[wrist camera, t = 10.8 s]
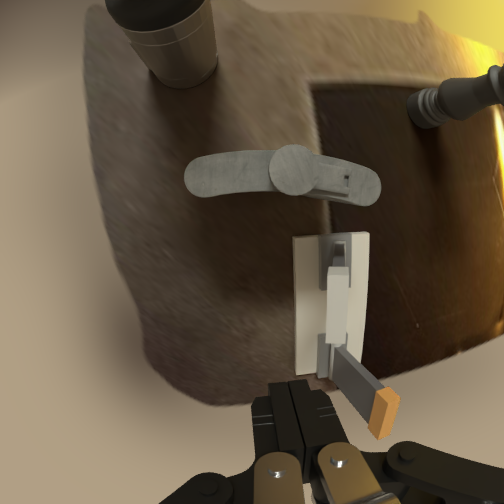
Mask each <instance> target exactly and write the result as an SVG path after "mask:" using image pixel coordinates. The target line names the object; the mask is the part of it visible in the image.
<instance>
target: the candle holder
mask: <svg viewBox="0 0 504 504" xmlns="http://www.w3.org/2000/svg"><path fill="white" fill-rule="evenodd" d="M495 104H502V105H503V106H504V64H503V66H502V67H499V66H497V65H494V66H491V67H490V68H489V70H488V74H485V75H482V76H479V77H477V78H450V79H447V80H445V81H443V82H442V83H441V85H440V86H439V88H430V89H427V88H426V89H423V90H421V91H419V92H416V93H414V94H412V95H410V97H409V98H408V100H407V110H408V114H409V116H410V118H411V120H412V121H413V122H414V123H415V124H416V125H417V126H419V127H421V128H425V129H429V128H433V127H437V126H440V125H442V124H444V123H446V122H447V121H449V120H450V118H453V119H456V120H462V121H463V120H466V119H468V118H470V117H471V116H473V115H474V114H476V113H477V112H479V111H481V110H482V109H484V108H485V107H487V106H491V105H495Z"/></svg>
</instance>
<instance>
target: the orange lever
mask: <svg viewBox="0 0 504 504" xmlns="http://www.w3.org/2000/svg"><path fill="white" fill-rule="evenodd" d="M329 379H330V380H332V381H333V382H334V383H335V384H336V385H337V387H338V388H339V389H340V390H341V391H342V393H343V394H344V395H345V396H346V398H347V399H348V400H349V401H350V403H351V404H352V405H353V406H354V407H355V409H356V410H357V411H358V412H359V414H360V415H361V416H362V417H363V418H364V420H365V421H366V422H367V423H368V429H369V430H370V432H371V433H372V434H373V435H374V436H375V438H376V439H377V440H380V439H382V438H384V437H386V436H388V435H390V432H391V429H392V426H393V423H394V420H395V416H396V413H397V410H398V406H399V403H400V399H401V398H400V397H399V396H398V395H397V394H396V393H395V392H394V391H393V390H392V389H391V388H390V387H386V388H385V387H384V386H383V385H382V384H381V383H380V382H379V381H378V380H377V379H376V378H375V377H374V376H373V375H372V374H371V373H370V372H369V371H368V370H367V369H366V368H365V367H364V366H363V365H362V364H361V363H360V362H358V361H357V360H356V359H355V358H354V357H353V356H352V355H351V354H350V353H349V352H348V351H347V350H346V349H345V348H344V347H343V346H342V344H334V343H331V353H330V367H329Z"/></svg>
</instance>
